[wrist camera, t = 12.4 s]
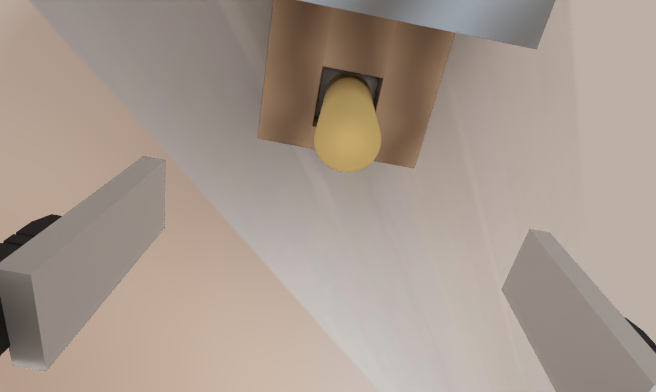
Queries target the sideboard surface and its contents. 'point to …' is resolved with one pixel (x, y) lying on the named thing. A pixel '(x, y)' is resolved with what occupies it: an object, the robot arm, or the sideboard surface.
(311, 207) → the sideboard surface
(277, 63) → the socket station
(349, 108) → the peg
